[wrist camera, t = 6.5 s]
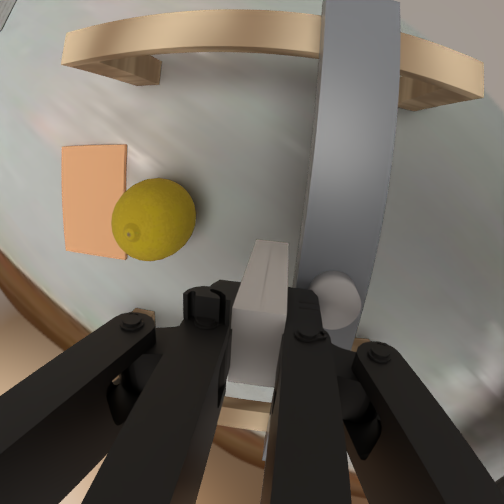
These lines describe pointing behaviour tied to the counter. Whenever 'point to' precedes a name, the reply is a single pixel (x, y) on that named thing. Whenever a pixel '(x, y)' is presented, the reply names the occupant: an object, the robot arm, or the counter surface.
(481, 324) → the counter surface
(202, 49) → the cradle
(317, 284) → the bar
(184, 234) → the lemon
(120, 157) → the pad
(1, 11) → the skincare box
